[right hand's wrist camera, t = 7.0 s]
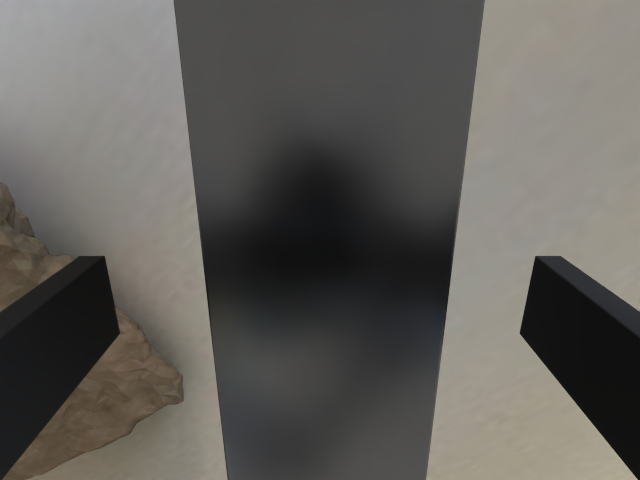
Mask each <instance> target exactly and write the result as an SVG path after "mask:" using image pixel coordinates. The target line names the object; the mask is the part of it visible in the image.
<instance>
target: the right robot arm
mask: <svg viewBox="0 0 640 480" xmlns="http://www.w3.org/2000/svg"><path fill="white" fill-rule="evenodd" d="M119 334H120V329H119V325H118V320H117V315H116V310H115V305H114V300H113V295H112V290H111V285H110V280H109V276H108V271H107V266H106V261H105V256H79V257H78V258H76V259H75V260H73V261H72V262H70V263H69V264H68V265H66V266H65V267H63V268H62V269H60V270H59V271H58V272H56V273H55V274H53V275H52V276H51V277H49V278H48V279H46V280H45V281H43V282H42V283H41V284H39V285H38V286H36V287H35V288H34V289H32V290H31V291H29V292H28V293H26V294H25V295H24V296H22V297H21V298H19V299H18V300H16V301H15V302H14V303H12V304H11V305H9V306H8V307H7V308H5V309H4V310H2V311H1V312H0V480H2V479H3V478H4V477H5V475H6V474H7V473H8V472H9V470H10V469H11V468H12V467H13V465H14V464H15V463H16V462H17V461H18V459H19V458H20V457H21V456H22V454H23V453H24V452H25V451H26V449H27V448H28V447H29V446H30V444H31V443H32V442H33V441H34V440H35V438H36V437H37V436H38V435H39V433H40V432H41V431H42V430H43V428H44V427H45V426H46V425H47V423H48V422H49V421H50V420H51V419H52V417H53V416H54V415H55V414H56V412H57V411H58V410H59V409H60V407H61V406H62V405H63V404H64V402H65V401H66V400H67V399H68V397H69V396H70V395H71V394H72V393H73V391H74V390H75V389H76V388H77V386H78V385H79V384H80V383H81V381H82V380H83V379H84V378H85V376H86V375H87V374H88V373H89V372H90V370H91V369H92V368H93V367H94V365H95V364H96V363H97V362H98V360H99V359H100V358H101V357H102V355H103V354H104V353H105V352H106V351H107V349H108V348H109V347H110V346H111V344H112V343H113V342H114V341H115V339H116V338H117V337H118V336H119ZM520 334H521V336H522V337H523V338H524V339H525V341H526V342H527V343H528V344H529V346H530V347H531V348H532V349H533V351H534V352H535V353H536V354H537V355H538V357H539V358H540V359H541V360H542V362H543V363H544V364H545V365H546V367H547V368H548V369H549V370H550V372H551V373H552V374H553V375H554V376H555V378H556V379H557V380H558V381H559V383H560V384H561V385H562V386H563V388H564V389H565V390H566V391H567V393H568V394H569V395H570V396H571V397H572V399H573V400H574V401H575V402H576V404H577V405H578V406H579V407H580V409H581V410H582V411H583V412H584V414H585V415H586V416H587V417H588V419H589V420H590V421H591V422H592V423H593V425H594V426H595V427H596V428H597V430H598V431H599V432H600V433H601V435H602V436H603V437H604V438H605V440H606V441H607V442H608V443H609V444H610V446H611V447H612V448H613V449H614V451H615V452H616V453H617V454H618V456H619V457H620V458H621V459H622V461H623V462H624V463H625V464H626V465H627V467H628V468H629V469H630V470H631V472H632V473H633V474H634V475H635V477H636V478H637V479H638V480H640V312H639V311H638V310H636V309H635V308H633V307H632V306H631V305H629V304H628V303H626V302H625V301H624V300H622V299H621V298H619V297H618V296H616V295H615V294H614V293H612V292H611V291H609V290H608V289H606V288H605V287H604V286H602V285H601V284H599V283H598V282H597V281H595V280H594V279H592V278H591V277H589V276H588V275H587V274H585V273H584V272H582V271H581V270H580V269H578V268H577V267H575V266H574V265H572V264H571V263H570V262H568V261H567V260H565V259H564V258H562V257H561V256H535V261H534V266H533V271H532V276H531V280H530V285H529V290H528V295H527V300H526V305H525V310H524V315H523V320H522V325H521V329H520Z"/></svg>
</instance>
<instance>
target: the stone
mask: <svg viewBox="0 0 640 480" xmlns="http://www.w3.org/2000/svg"><path fill="white" fill-rule="evenodd" d="M33 236H34V233H33V231H32V228H31V225H30V223H29V220H28V218H27V216H26V215H25V214H24V213H23V212H22V211H20V210H19V209H17V208H15V204H14V199H13V198H12V197H11V194H10V192H9V190H8V187H7V186H6V185H4V184H2V183H1V182H0V312H1V311H2V310H4V309H5V308H7V307H8V306H9V305H11V304H12V303H14V302H15V301H16V300H18V299H19V298H21V297H22V296H24V295H25V294H26V293H28V292H29V291H31V290H32V289H34V288H35V287H36V286H38V285H39V284H41V283H42V282H43V281H45V280H46V279H48V278H49V277H51V276H52V275H53V274H55V273H56V272H58V271H59V270H60V269H62V268H63V267H65V266H66V265H68V264H69V263H70V262H72V261H73V260H75V259H74V258H73V257H72V256H70V255H59V256H52V255H50V254H49V252H48V250H47V248H46V246H45V245H44V244H43V243H42V242H40V241H39V240H38V239H35V238H33ZM115 310H116V315H117V320H118V325H119V329H120V334H119V336H118V337H117V338H116V339H115V341H114V342H113V343H112V344H111V346H110V347H109V348H108V349H107V351H106V352H105V353H104V354H103V355H102V357H101V358H100V359H99V360H98V362H97V363H96V364H95V365H94V367H93V368H92V369H91V370H90V372H89V373H88V374H87V375H86V376H85V378H84V379H83V380H82V381H81V383H80V384H79V385H78V386H77V388H76V389H75V390H74V391H73V393H72V394H71V395H70V396H69V397H68V399H67V400H66V401H65V402H64V404H63V405H62V406H61V407H60V409H59V410H58V411H57V412H56V414H55V415H54V416H53V417H52V419H51V420H50V421H49V422H48V423H47V425H46V426H45V427H44V428H43V430H42V431H41V432H40V433H39V435H38V436H37V437H36V438H35V440H34V441H33V442H32V443H31V444H30V446H29V447H28V448H27V449H26V451H25V452H24V453H23V454H22V456H21V457H20V458H19V459H18V461H17V462H16V463H15V464H14V465H13V467H12V468H11V469H10V470H9V472H8V473H7V474H6V475H5V477H4V478H3V479H2V480H25V479H29V478H31V477H34V476H37V475H42V474H44V473H46V472H48V471H50V470H52V469H53V468H55V467H57V466H58V465H60V464H62V463H64V462H66V461H68V460H71V459H73V458H75V457H77V456H79V455H81V454H83V453H86V452H89V451H92V450H96V449H98V448H101V447H103V446H105V445H107V444H109V443H111V442H113V441H115V440H117V439H119V438H121V437H123V436H126V435H128V434H130V433H131V431H132V430H133V428H134V426H135V425H136V423H137V422H139V421H141V420H142V419H144V418H146V417H148V416H150V415H152V414H153V413H154V412H156V411H157V410H159V409H161V408H163V407H164V406H166V405H168V404H179V403H180V402H182V401H184V396H183V386H182V380H183V376H182V375H181V374H180V373H179V372H178V371H177V370H176V368H175V367H174V366H173V365H172V363H170V362H168V361H167V360H166V359H165V358H163V357H162V356H161V355H159V354H158V353H157V352H155V351H154V350H153V349H152V348H151V346H150V344H149V342H148V340H147V339H146V338H145V336H144V332H143V329H142V327H141V326H139V325H138V324H136V323H135V322H134V321H133V320H132V319H131V318H129V317H127V316H126V314H125V313H124V312H123V311H122V310H120V309H118V308H116V307H115Z"/></svg>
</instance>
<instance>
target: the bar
mask: <svg viewBox="0 0 640 480" xmlns="http://www.w3.org/2000/svg"><path fill="white" fill-rule="evenodd" d="M484 1H485V0H174V8H175V16H176V25H177V34H178V43H179V52H180V61H181V70H182V79H183V87H184V96H185V105H186V114H187V123H188V132H189V141H190V150H191V158H192V167H193V176H194V185H195V194H196V203H197V212H198V221H199V229H200V238H201V247H202V256H203V265H204V274H205V283H206V292H207V300H208V309H209V318H210V327H211V336H212V345H213V354H214V363H215V371H216V380H217V389H218V398H219V407H220V416H221V425H222V434H223V442H224V451H225V460H226V469H227V478H228V480H426V475H427V467H428V459H429V451H430V443H431V435H432V426H433V418H434V410H435V402H436V394H437V385H438V377H439V369H440V361H441V353H442V345H443V336H444V328H445V320H446V312H447V304H448V296H449V287H450V279H451V271H452V263H453V255H454V246H455V238H456V230H457V222H458V214H459V206H460V197H461V189H462V181H463V173H464V165H465V157H466V148H467V140H468V132H469V124H470V116H471V107H472V99H473V91H474V83H475V75H476V67H477V58H478V50H479V42H480V34H481V26H482V18H483V9H484Z"/></svg>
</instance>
